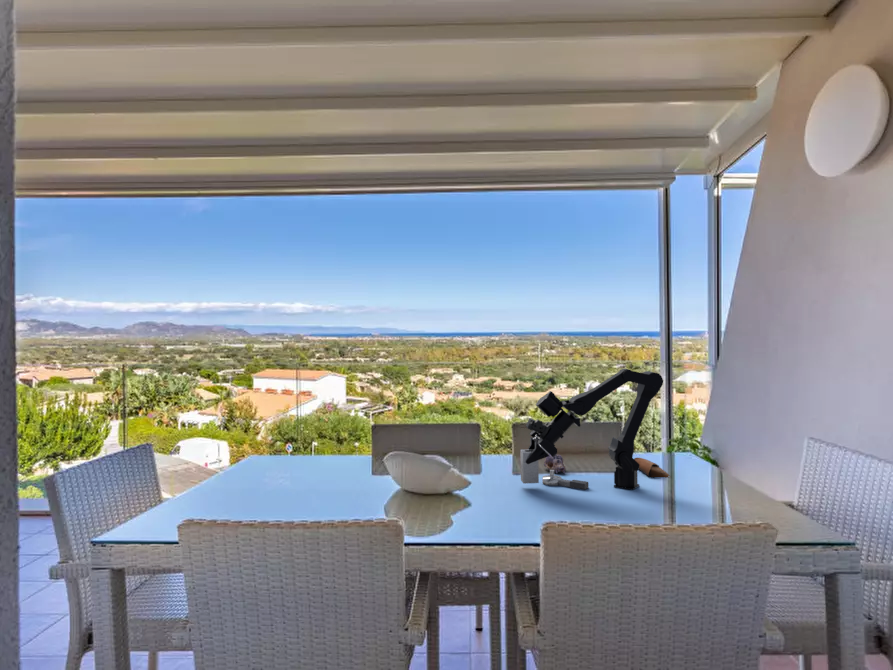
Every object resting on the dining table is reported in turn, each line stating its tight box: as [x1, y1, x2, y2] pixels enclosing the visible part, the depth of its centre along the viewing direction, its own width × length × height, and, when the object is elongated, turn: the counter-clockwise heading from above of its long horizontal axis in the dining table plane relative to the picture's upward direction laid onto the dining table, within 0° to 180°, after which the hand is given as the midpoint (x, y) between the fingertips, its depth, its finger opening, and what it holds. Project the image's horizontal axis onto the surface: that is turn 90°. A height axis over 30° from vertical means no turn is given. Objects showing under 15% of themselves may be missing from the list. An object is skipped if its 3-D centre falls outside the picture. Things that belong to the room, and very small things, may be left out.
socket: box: [519, 448, 540, 485], centre depth 196 cm, size 5×5×10 cm
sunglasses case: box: [633, 457, 670, 478], centre depth 217 cm, size 18×7×7 cm
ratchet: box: [541, 469, 589, 491], centre depth 199 cm, size 16×6×4 cm, turn 53°
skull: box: [543, 453, 567, 474], centre depth 220 cm, size 12×8×6 cm, turn 0°
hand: (525, 461), depth 196 cm, fingers closed on socket, 5 cm apart
